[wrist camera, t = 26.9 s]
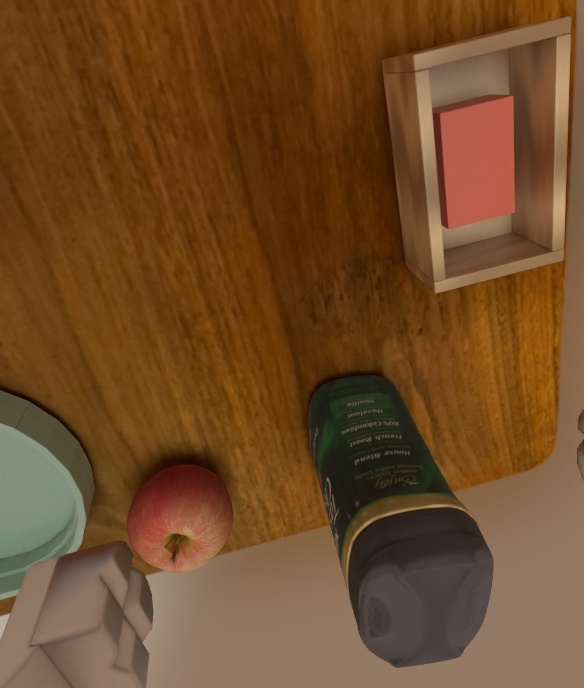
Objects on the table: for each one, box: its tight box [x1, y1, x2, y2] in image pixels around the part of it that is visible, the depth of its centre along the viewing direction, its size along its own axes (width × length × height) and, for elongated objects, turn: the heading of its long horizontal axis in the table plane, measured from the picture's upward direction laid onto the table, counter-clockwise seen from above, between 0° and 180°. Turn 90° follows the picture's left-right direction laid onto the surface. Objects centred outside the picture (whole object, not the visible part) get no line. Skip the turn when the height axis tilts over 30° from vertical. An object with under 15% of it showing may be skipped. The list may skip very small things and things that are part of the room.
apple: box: [127, 464, 233, 573], centre depth 40 cm, size 8×8×8 cm
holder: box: [382, 16, 571, 293], centre depth 32 cm, size 14×9×6 cm, turn 12°
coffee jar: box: [307, 375, 493, 668], centre depth 35 cm, size 10×8×19 cm
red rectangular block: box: [432, 95, 515, 229], centre depth 33 cm, size 7×4×3 cm, turn 12°
